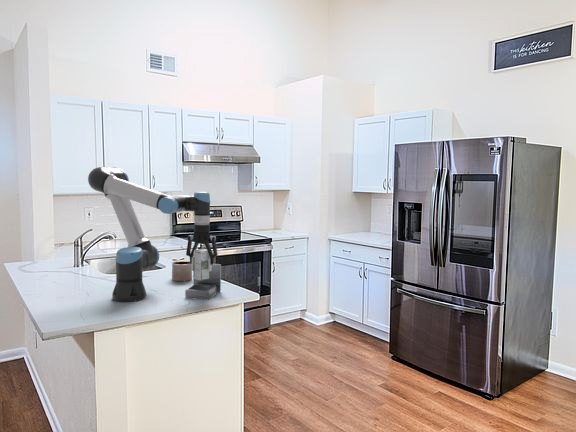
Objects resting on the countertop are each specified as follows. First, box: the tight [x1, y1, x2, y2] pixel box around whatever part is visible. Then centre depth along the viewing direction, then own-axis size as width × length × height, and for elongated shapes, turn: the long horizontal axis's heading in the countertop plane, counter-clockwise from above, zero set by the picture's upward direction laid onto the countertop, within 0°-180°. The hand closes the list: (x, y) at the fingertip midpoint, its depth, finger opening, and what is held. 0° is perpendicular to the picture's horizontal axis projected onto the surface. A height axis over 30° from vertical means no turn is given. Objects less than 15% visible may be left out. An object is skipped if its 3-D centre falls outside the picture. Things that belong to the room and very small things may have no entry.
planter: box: [171, 260, 193, 283], centre depth 254 cm, size 11×11×10 cm
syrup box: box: [192, 248, 210, 281], centre depth 222 cm, size 6×6×14 cm
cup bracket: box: [184, 263, 222, 301], centre depth 224 cm, size 14×15×14 cm
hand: (201, 270), depth 222 cm, fingers closed on syrup box, 8 cm apart
